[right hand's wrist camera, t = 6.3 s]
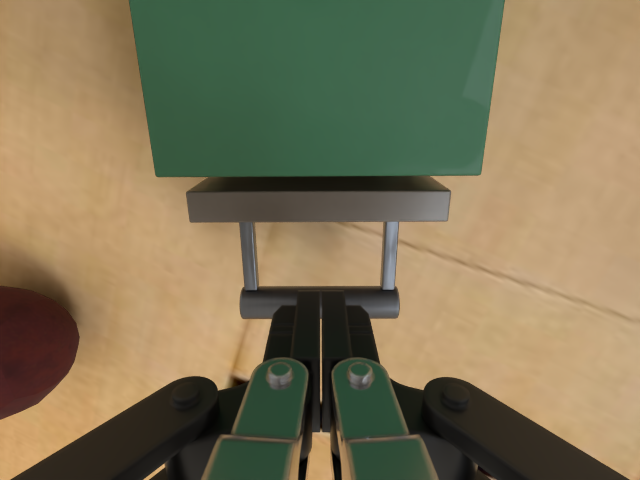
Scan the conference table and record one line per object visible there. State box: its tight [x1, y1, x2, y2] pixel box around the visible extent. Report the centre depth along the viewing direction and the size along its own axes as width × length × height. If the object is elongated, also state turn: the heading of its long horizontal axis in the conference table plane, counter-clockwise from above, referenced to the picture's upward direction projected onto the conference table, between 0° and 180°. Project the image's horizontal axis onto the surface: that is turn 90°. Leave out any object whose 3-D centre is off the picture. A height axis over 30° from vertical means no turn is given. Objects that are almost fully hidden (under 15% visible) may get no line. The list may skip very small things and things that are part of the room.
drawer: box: [186, 176, 451, 319], centre depth 16 cm, size 22×10×7 cm, turn 0°
